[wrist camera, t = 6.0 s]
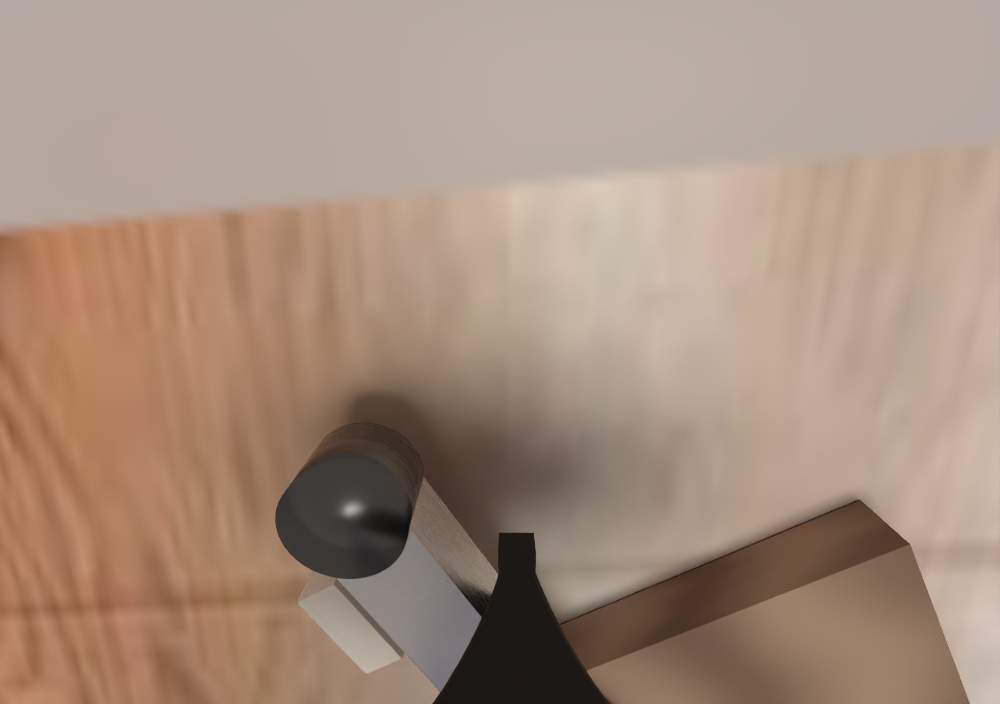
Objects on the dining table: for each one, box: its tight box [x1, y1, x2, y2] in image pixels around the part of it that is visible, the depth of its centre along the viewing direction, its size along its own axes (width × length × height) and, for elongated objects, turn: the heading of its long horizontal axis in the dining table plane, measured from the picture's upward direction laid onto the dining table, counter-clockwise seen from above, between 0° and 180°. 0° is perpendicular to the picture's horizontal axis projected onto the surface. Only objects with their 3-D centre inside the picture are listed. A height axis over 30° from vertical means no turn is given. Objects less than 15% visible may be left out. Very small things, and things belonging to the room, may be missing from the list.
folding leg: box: [275, 423, 498, 692], centre depth 13 cm, size 15×3×2 cm, turn 31°
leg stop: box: [297, 571, 404, 674], centre depth 14 cm, size 1×3×4 cm, turn 31°
